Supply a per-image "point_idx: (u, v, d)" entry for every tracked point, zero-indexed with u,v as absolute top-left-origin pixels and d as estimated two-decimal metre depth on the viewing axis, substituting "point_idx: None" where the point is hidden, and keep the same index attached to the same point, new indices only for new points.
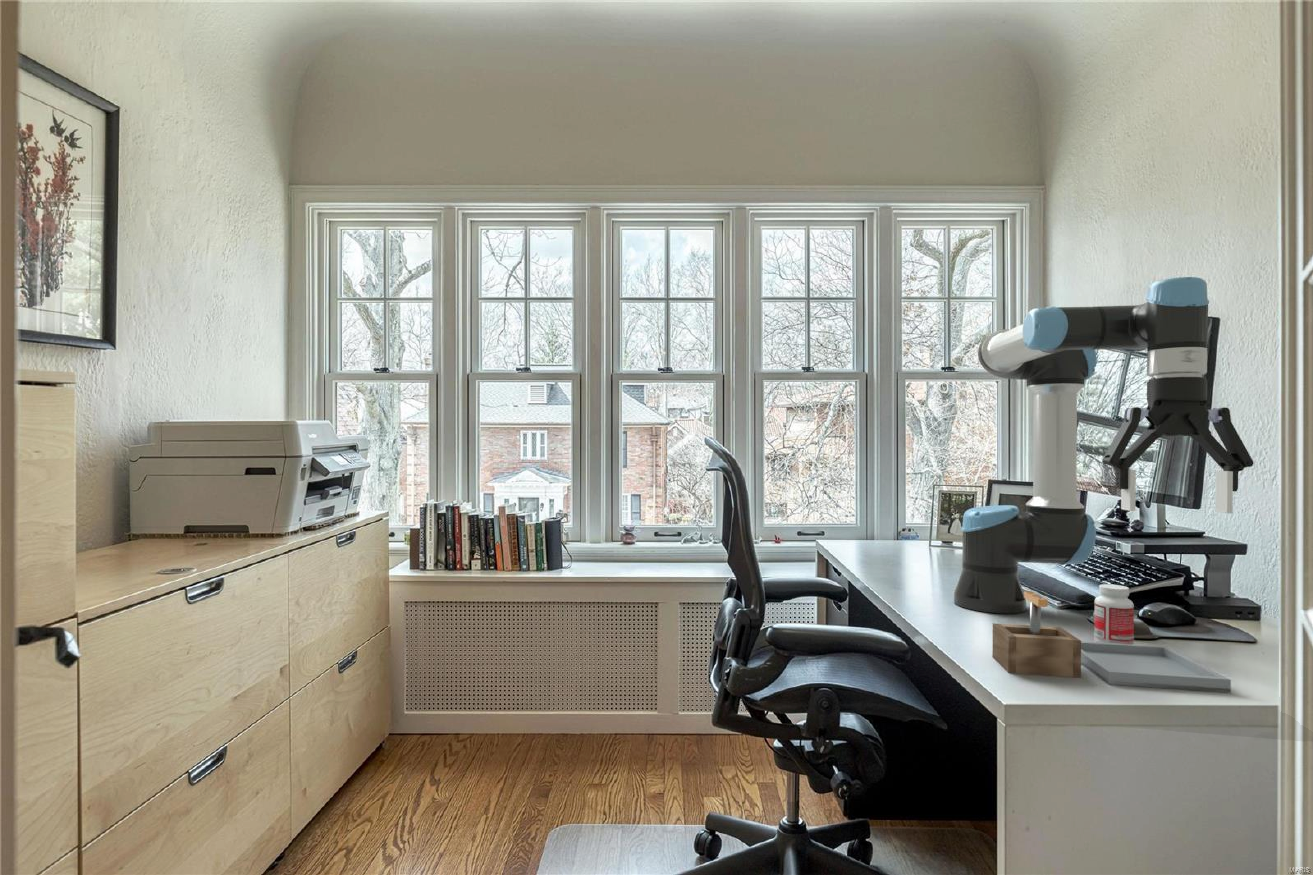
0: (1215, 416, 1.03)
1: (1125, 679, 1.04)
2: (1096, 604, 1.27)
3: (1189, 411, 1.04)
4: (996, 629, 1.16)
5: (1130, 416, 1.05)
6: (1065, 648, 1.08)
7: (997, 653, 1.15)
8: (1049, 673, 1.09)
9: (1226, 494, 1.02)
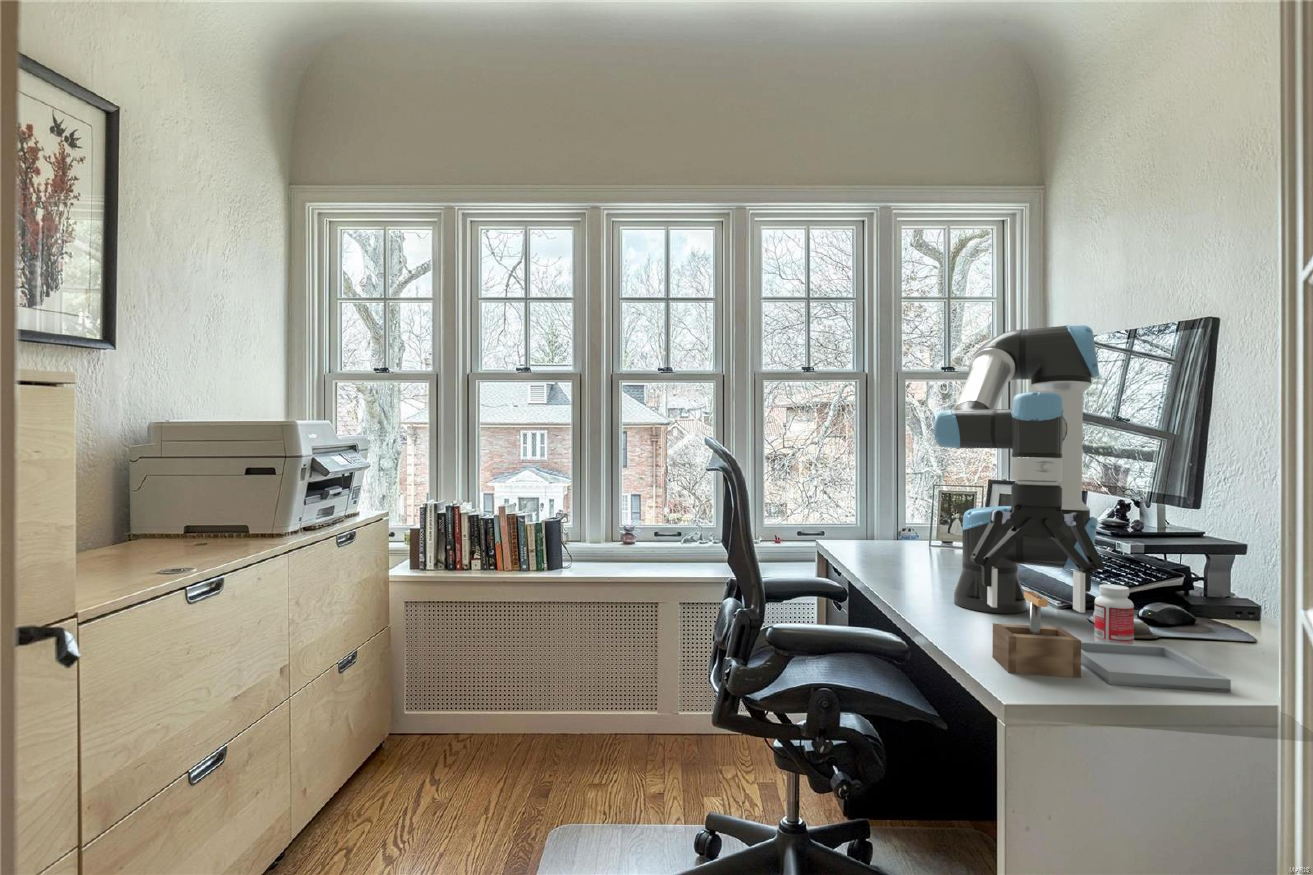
0: (1070, 521, 1.11)
1: (1125, 679, 1.04)
2: (1096, 604, 1.27)
3: (1046, 516, 1.11)
4: (996, 629, 1.16)
5: (993, 518, 1.13)
6: (1065, 648, 1.08)
7: (997, 653, 1.15)
8: (1049, 673, 1.09)
9: (1079, 594, 1.10)
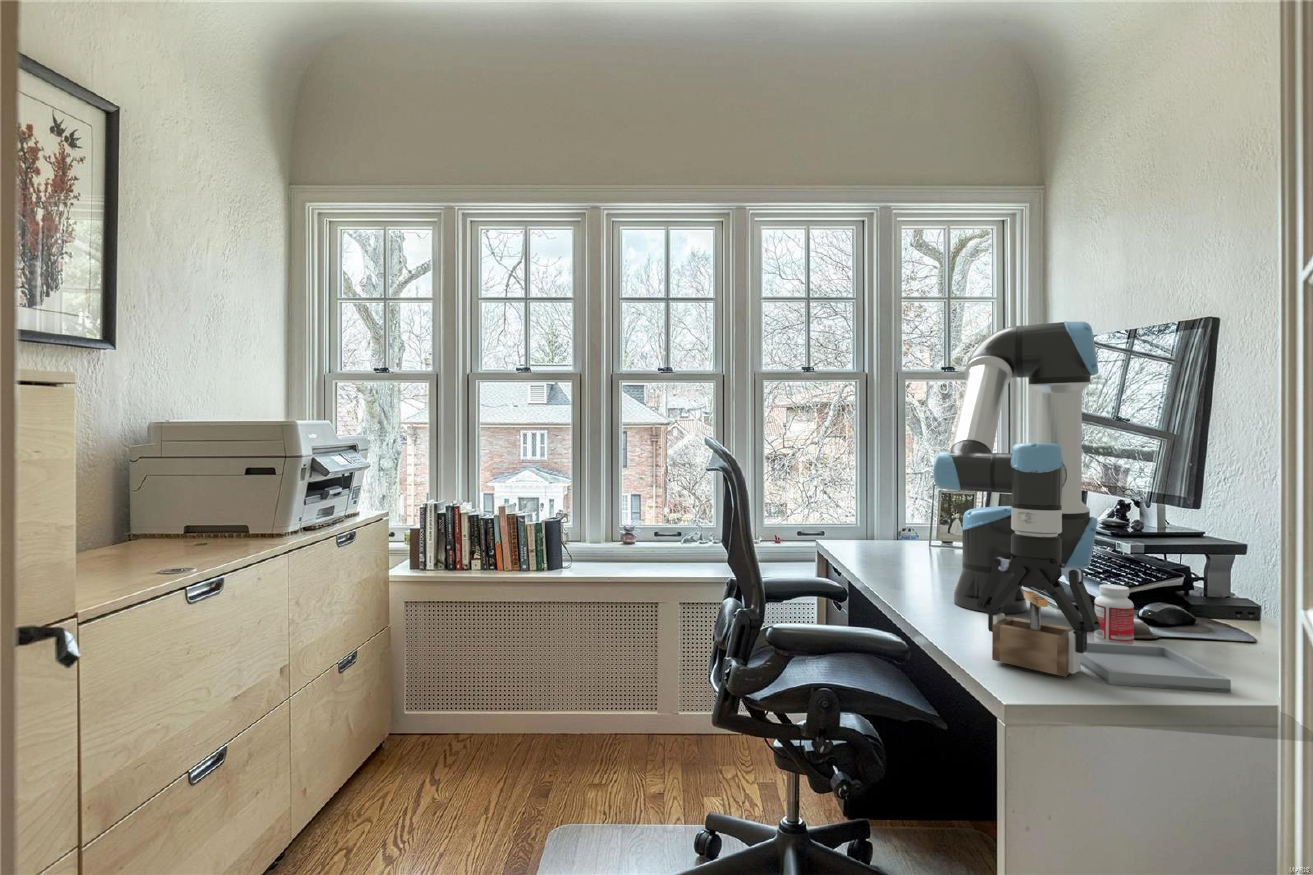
0: (1067, 576, 1.08)
1: (1125, 679, 1.04)
2: (1096, 604, 1.27)
3: (1040, 566, 1.11)
4: None
5: None
6: (1049, 644, 1.08)
7: None
8: (1032, 667, 1.09)
9: None
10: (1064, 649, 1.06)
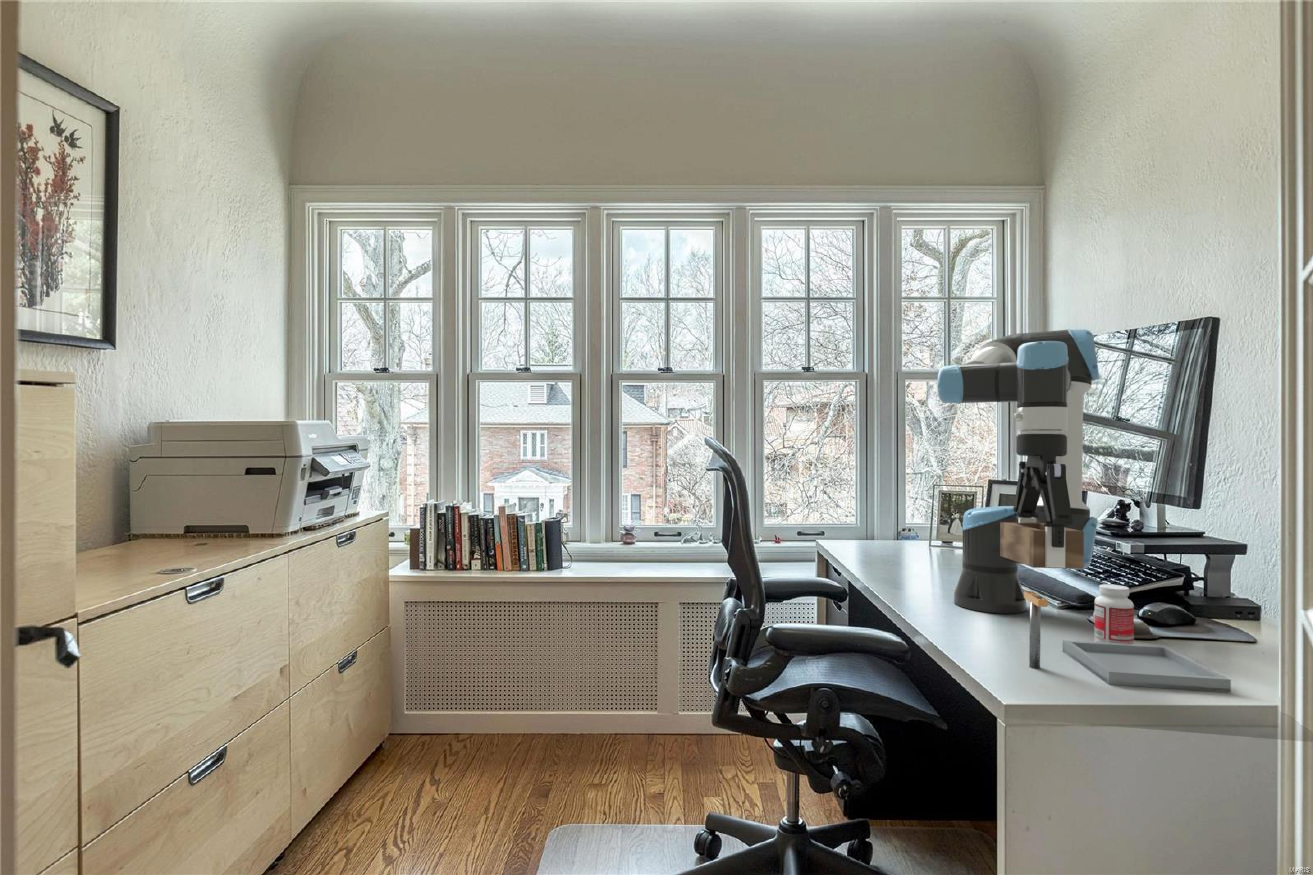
0: None
1: (1125, 679, 1.04)
2: (1096, 604, 1.27)
3: (1036, 464, 1.12)
4: None
5: None
6: (1026, 537, 1.10)
7: None
8: (1018, 560, 1.12)
9: (1045, 548, 1.07)
10: (1033, 541, 1.08)
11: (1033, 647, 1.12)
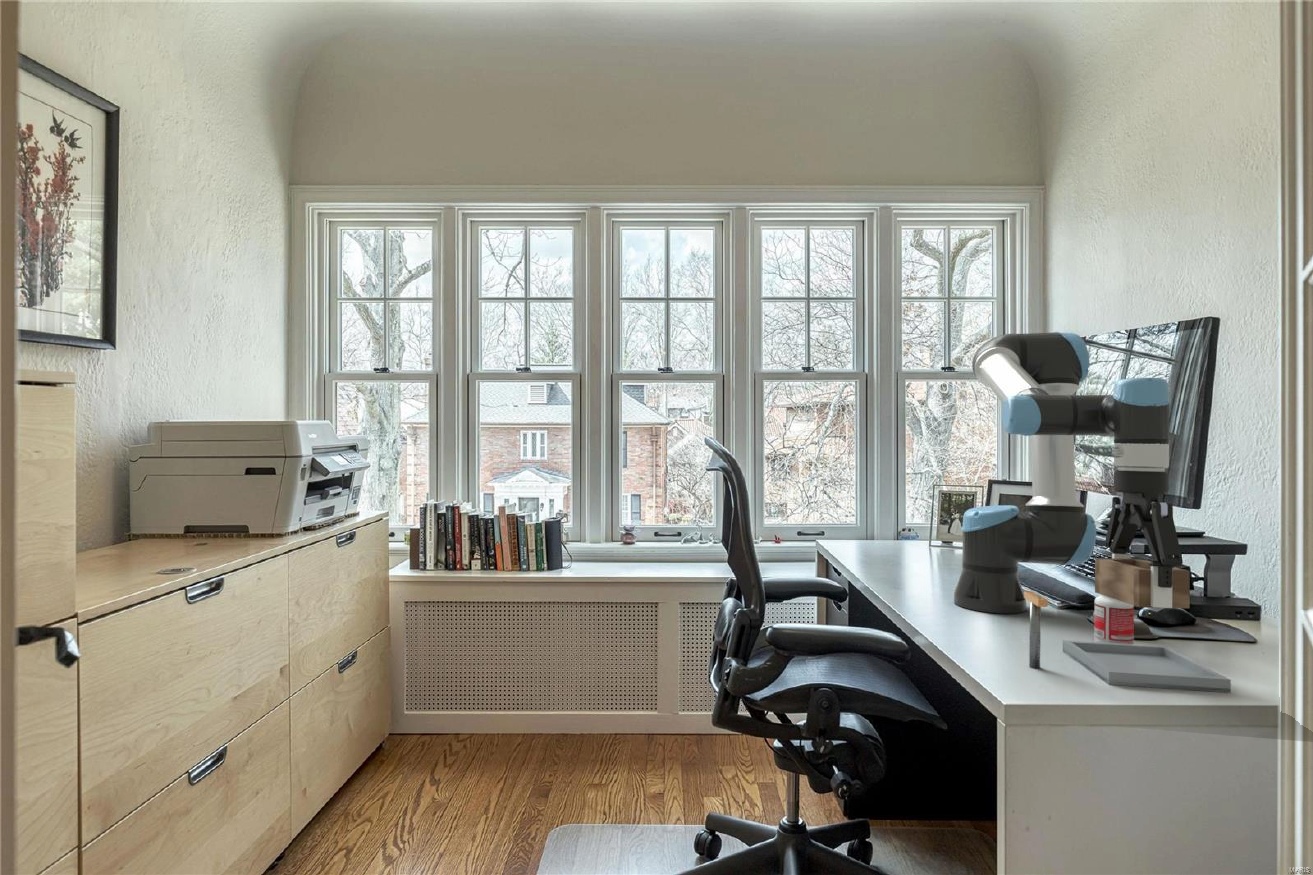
0: None
1: (1125, 679, 1.04)
2: (1096, 604, 1.27)
3: (1137, 501, 1.11)
4: None
5: None
6: (1129, 576, 1.09)
7: None
8: (1119, 598, 1.11)
9: (1151, 587, 1.06)
10: (1138, 580, 1.06)
11: (1033, 647, 1.12)
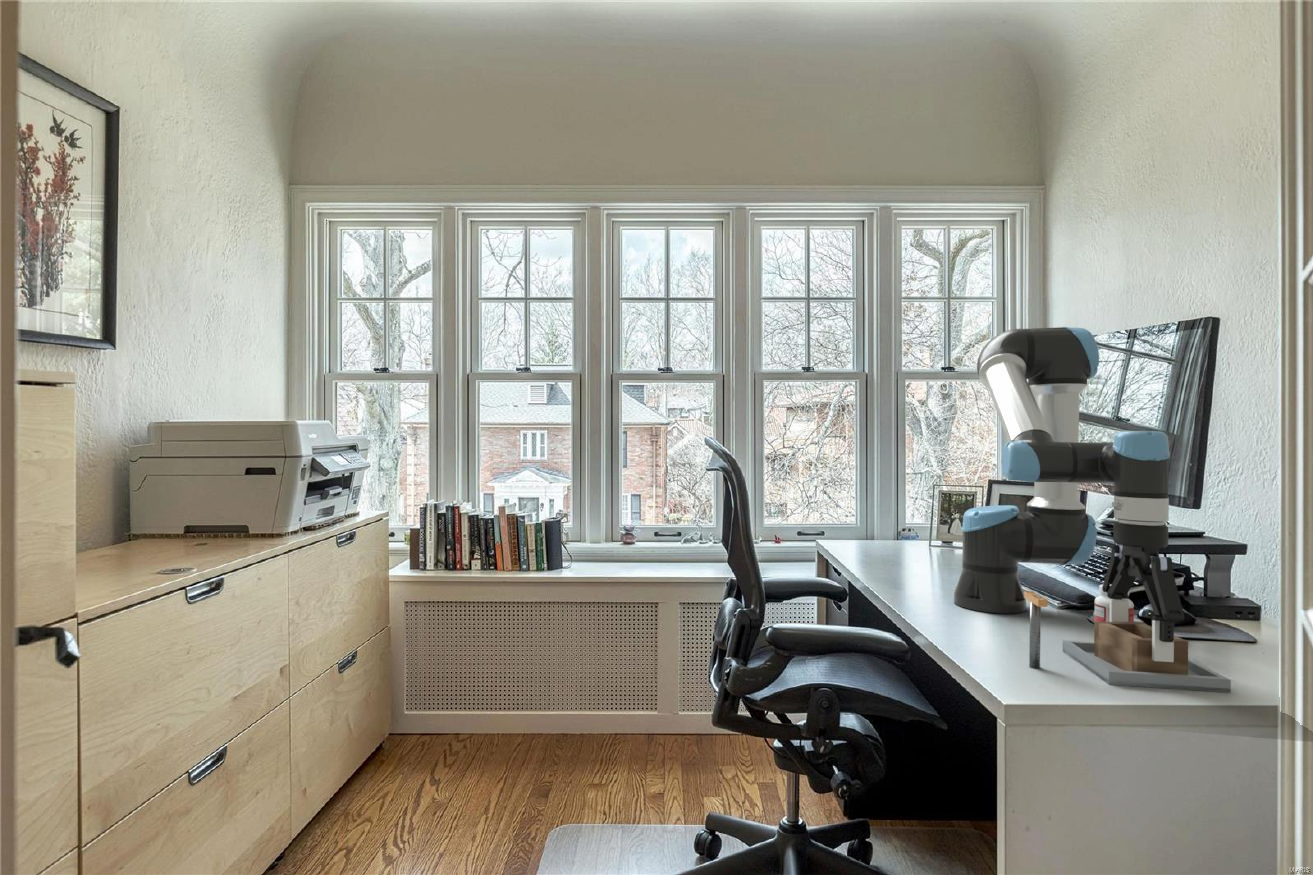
0: None
1: (1125, 679, 1.04)
2: (1096, 604, 1.27)
3: (1136, 555, 1.11)
4: None
5: None
6: (1127, 644, 1.09)
7: None
8: (1117, 665, 1.11)
9: (1152, 641, 1.06)
10: (1136, 650, 1.07)
11: (1033, 647, 1.12)
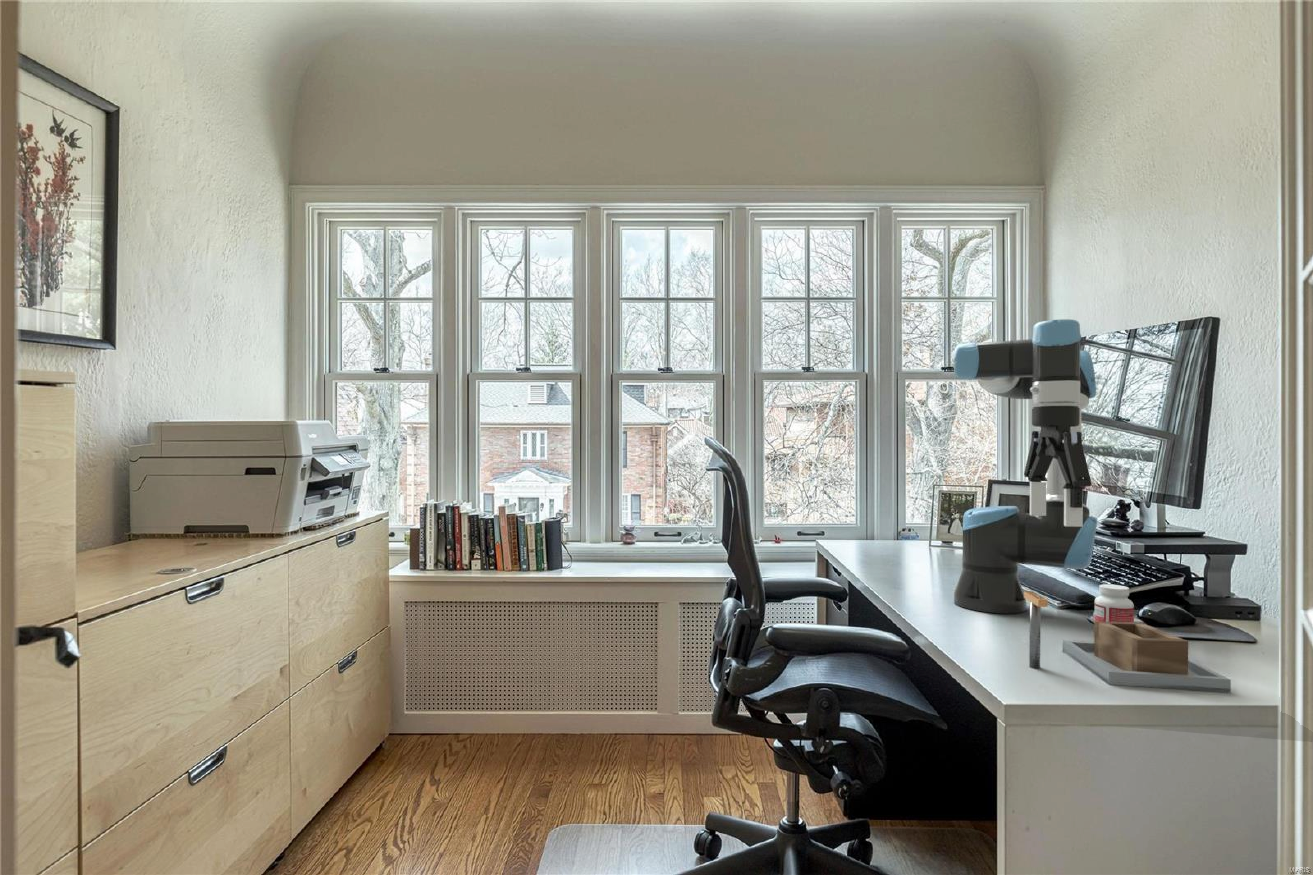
0: None
1: (1125, 679, 1.04)
2: (1096, 604, 1.27)
3: (1052, 435, 1.20)
4: None
5: None
6: (1127, 644, 1.09)
7: None
8: (1117, 665, 1.11)
9: (1064, 508, 1.16)
10: (1136, 650, 1.07)
11: (1033, 647, 1.12)
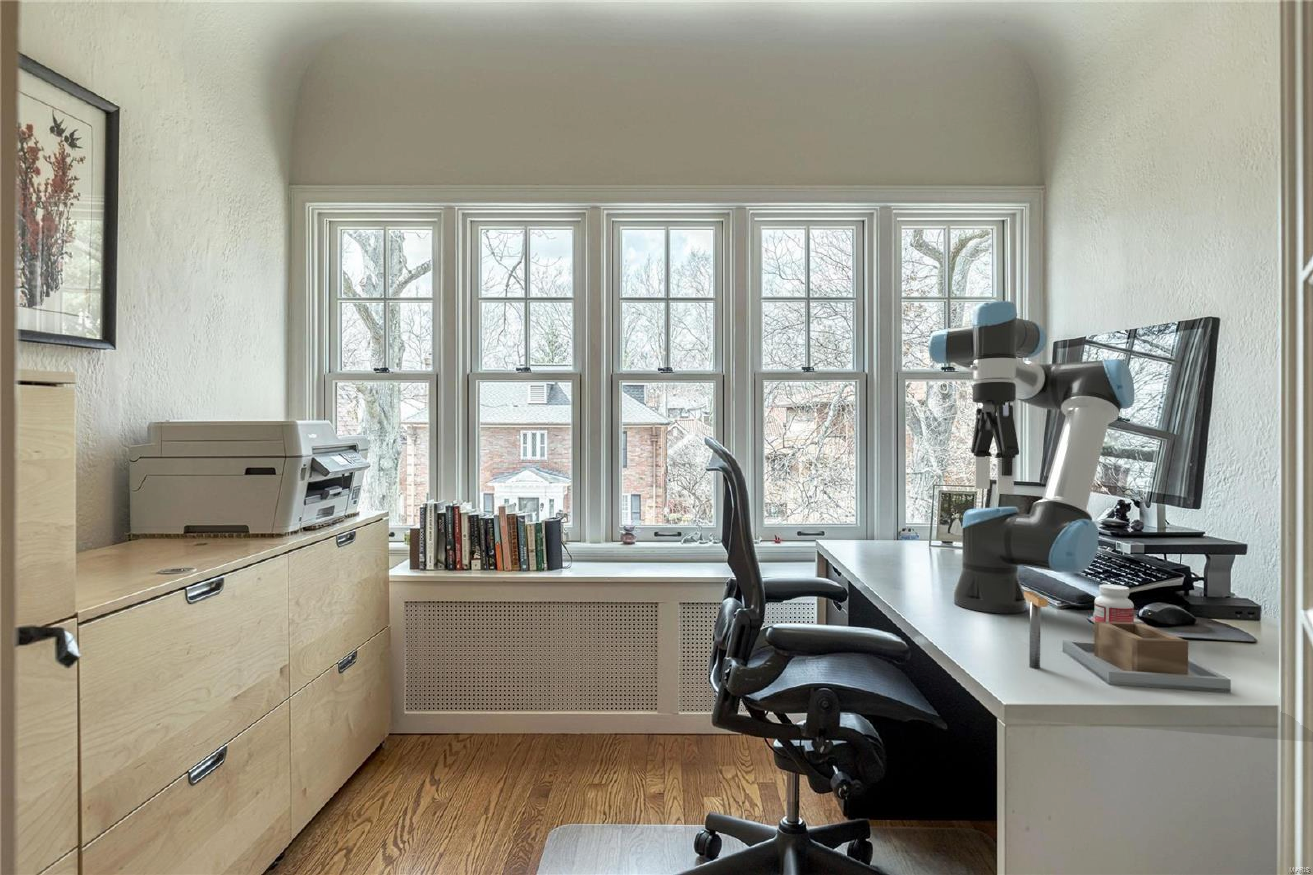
0: None
1: (1125, 679, 1.04)
2: (1096, 604, 1.27)
3: (989, 409, 1.28)
4: None
5: None
6: (1127, 644, 1.09)
7: None
8: (1117, 665, 1.11)
9: (997, 477, 1.23)
10: (1136, 650, 1.07)
11: (1033, 647, 1.12)
